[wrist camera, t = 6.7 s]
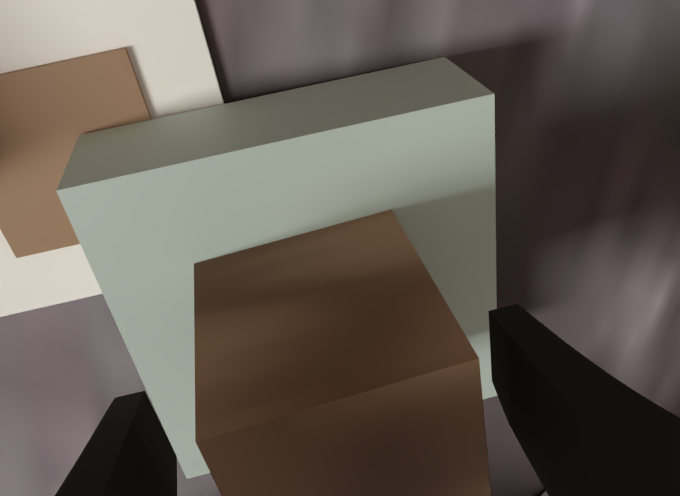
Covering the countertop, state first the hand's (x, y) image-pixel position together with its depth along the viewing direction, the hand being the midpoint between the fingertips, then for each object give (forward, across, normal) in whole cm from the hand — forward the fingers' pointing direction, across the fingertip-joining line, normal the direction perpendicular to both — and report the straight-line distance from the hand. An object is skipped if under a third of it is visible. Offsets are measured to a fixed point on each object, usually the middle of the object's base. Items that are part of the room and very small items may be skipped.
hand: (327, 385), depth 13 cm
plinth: (+5, 0, 0) cm, 5 cm away
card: (+6, +5, -4) cm, 9 cm away
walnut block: (+2, 0, 0) cm, 2 cm away
